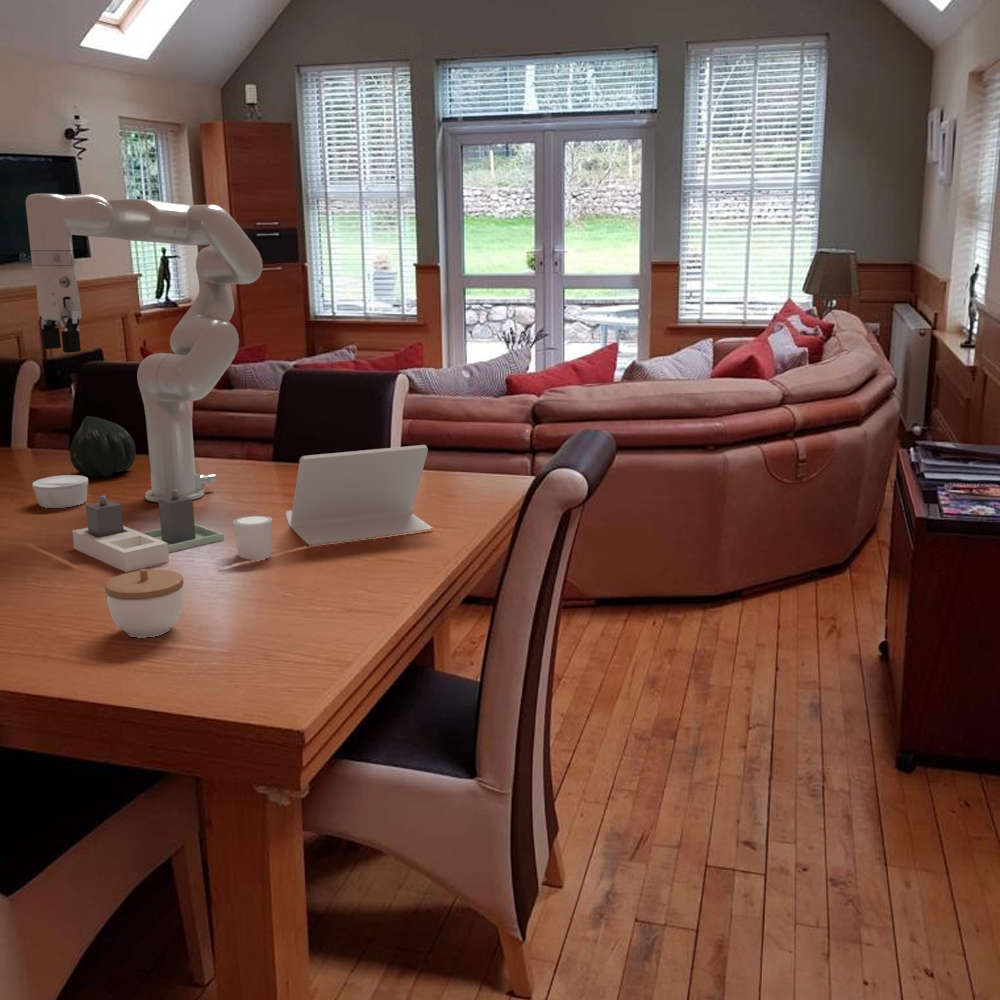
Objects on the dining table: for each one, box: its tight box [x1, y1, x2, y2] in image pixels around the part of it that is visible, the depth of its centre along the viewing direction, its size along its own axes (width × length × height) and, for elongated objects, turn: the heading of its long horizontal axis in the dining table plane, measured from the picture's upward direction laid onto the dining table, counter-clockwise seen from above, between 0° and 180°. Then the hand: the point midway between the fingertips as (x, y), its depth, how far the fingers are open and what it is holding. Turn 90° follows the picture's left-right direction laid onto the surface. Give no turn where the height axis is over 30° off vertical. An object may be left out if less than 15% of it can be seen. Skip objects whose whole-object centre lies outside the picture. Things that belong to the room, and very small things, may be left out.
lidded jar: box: [104, 568, 184, 639], centre depth 151 cm, size 11×11×9 cm
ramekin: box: [32, 474, 89, 509], centre depth 226 cm, size 11×11×5 cm
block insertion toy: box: [72, 494, 170, 573], centre depth 186 cm, size 8×20×11 cm, turn 46°
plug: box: [157, 490, 196, 544], centre depth 195 cm, size 4×4×10 cm
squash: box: [69, 415, 136, 478], centre depth 254 cm, size 14×15×15 cm
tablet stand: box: [285, 444, 434, 547], centre depth 204 cm, size 18×25×17 cm
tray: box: [141, 523, 225, 554], centre depth 196 cm, size 12×12×2 cm
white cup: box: [232, 514, 273, 562], centre depth 187 cm, size 7×7×7 cm
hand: (62, 350), depth 204 cm, fingers open, 9 cm apart
